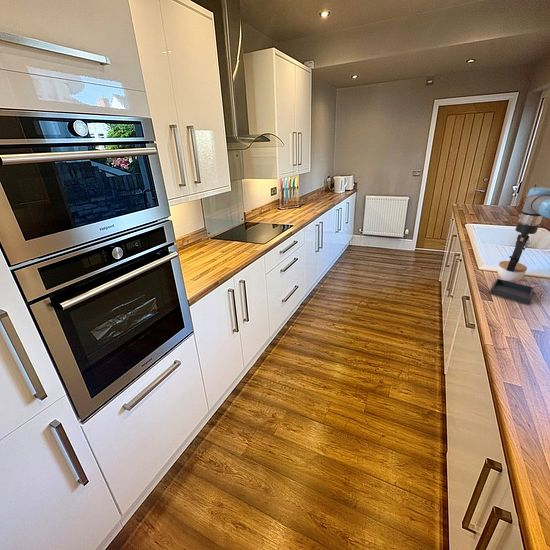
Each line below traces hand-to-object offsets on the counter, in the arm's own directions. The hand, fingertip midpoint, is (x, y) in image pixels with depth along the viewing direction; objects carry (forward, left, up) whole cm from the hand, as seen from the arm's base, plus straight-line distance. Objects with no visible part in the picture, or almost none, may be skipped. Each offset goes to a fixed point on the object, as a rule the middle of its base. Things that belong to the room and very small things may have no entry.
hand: (512, 266), depth 139 cm
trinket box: (0, 0, -7) cm, 7 cm away
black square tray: (-3, +15, -7) cm, 17 cm away
